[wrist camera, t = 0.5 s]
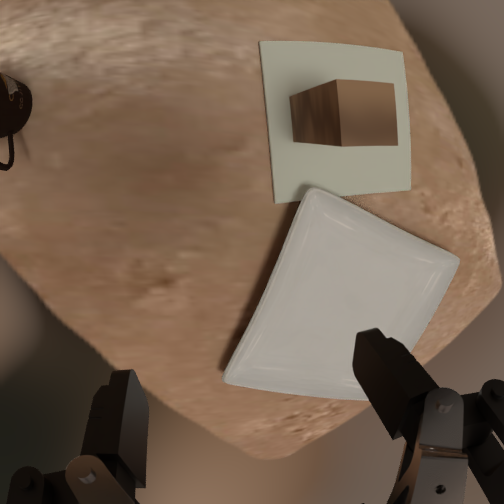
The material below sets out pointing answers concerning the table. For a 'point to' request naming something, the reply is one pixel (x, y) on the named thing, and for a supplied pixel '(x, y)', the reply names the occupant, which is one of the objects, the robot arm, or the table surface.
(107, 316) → the table surface
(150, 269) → the table surface
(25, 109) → the coffee mug
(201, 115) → the table surface
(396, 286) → the square plate
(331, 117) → the walnut block
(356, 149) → the sage mat
